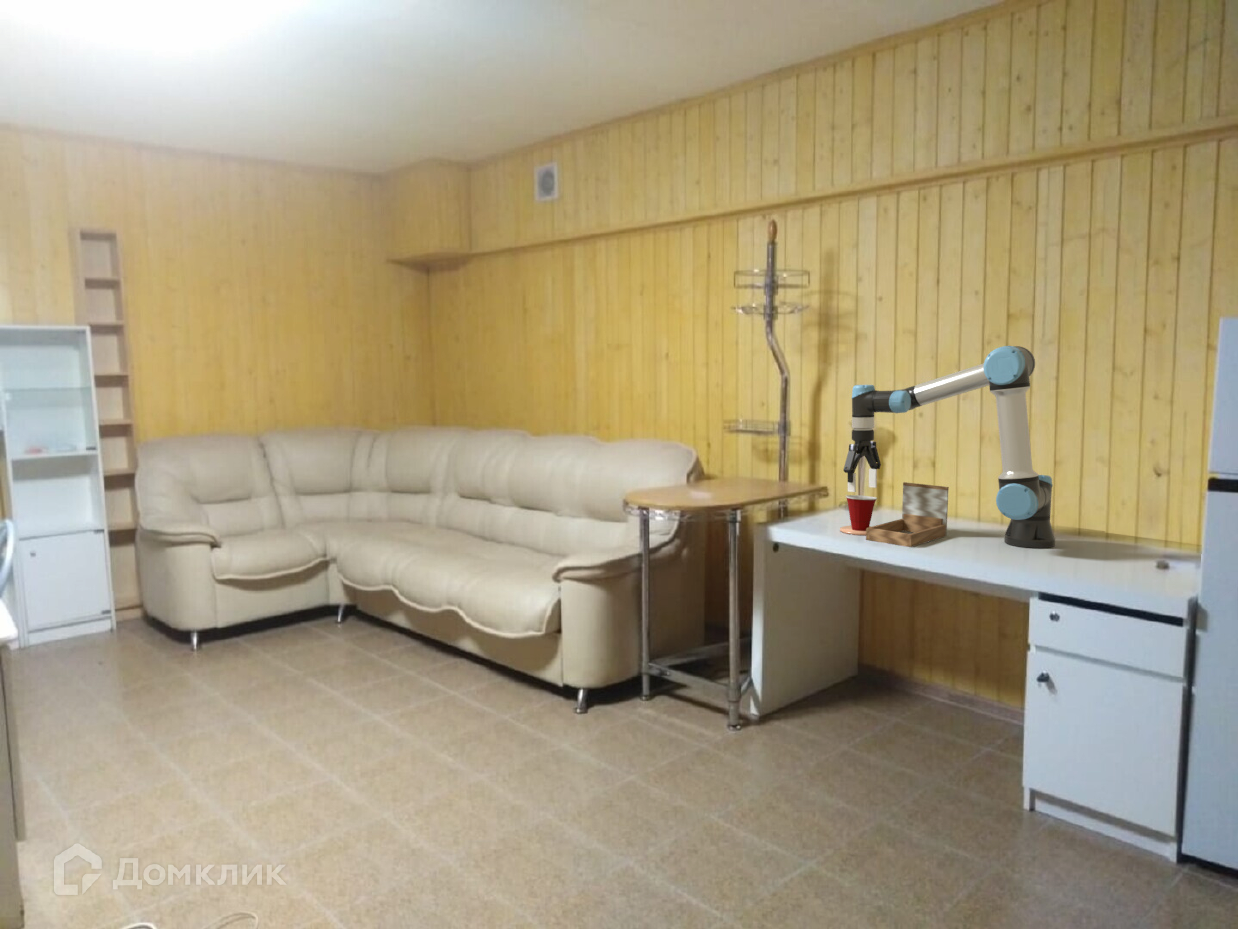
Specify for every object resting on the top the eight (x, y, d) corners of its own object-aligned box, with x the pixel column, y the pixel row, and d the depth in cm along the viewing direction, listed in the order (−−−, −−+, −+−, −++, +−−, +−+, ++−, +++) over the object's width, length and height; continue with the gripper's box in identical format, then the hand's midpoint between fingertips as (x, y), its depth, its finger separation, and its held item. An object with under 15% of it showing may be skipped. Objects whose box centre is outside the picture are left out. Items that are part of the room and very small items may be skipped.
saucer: (888, 531, 312) (888, 529, 312) (867, 537, 302) (867, 535, 302) (854, 526, 322) (854, 523, 322) (832, 531, 313) (832, 529, 312)
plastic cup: (882, 529, 312) (883, 495, 310) (866, 533, 304) (867, 499, 303) (854, 525, 320) (855, 492, 318) (838, 529, 312) (839, 496, 311)
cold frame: (946, 535, 303) (948, 487, 301) (910, 547, 287) (912, 495, 284) (903, 529, 315) (904, 482, 313) (866, 539, 299) (867, 490, 296)
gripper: (872, 426, 319) (871, 484, 321) (833, 431, 302) (833, 492, 304) (891, 427, 313) (890, 486, 316) (852, 432, 296) (852, 494, 299)
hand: (862, 489), depth 310 cm, fingers open, 13 cm apart
